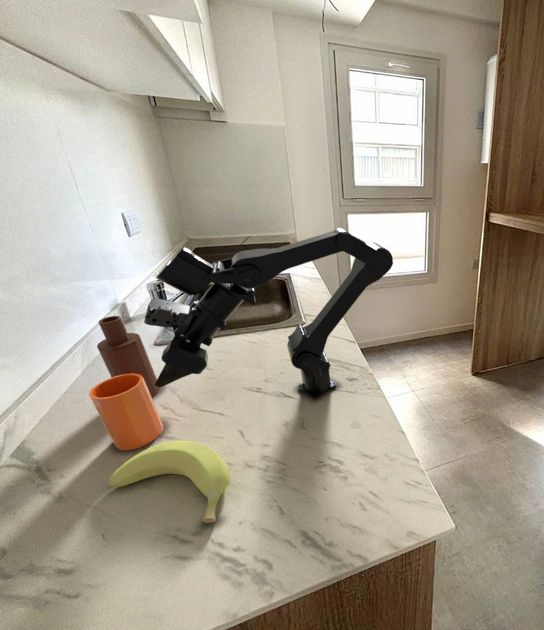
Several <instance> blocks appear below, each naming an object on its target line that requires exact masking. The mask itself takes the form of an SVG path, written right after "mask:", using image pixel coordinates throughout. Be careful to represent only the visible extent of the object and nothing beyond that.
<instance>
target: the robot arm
mask: <svg viewBox="0 0 544 630" xmlns="http://www.w3.org/2000/svg"><path fill="white" fill-rule="evenodd" d="M343 252H344V253H346V254H348V255H350V256H352V257H353V258H354V259H353V262H352V266H351V269H350V272H349V273H348V275H347V277H345V279H344V280H343V282H342V283H341V284H340V285H339V287H338V288H337V289H336V291H334V293H333V295H332V296H331V297H330V298H329V300H328V301H327V302H326V304H325V305H324V306H323V307H322V309H321V310H320V311H319V313H317V315H316V316H315V318H314V319H313V320H312V321H311V323H309V324H307V325H305V326H302V324H300V323H299V324H297V326H296V327H295V329H294V330H293V332H292V333H291V334H290V335H288V336H287V339H288V341H287V344H286V347H287V352H288V354H289V358H290V361H291V365H292V366H293V367H294V368H296V369H298V370H300V374H301V379H302V383H300V384H299V385H297V389H298V390H299V391H301V392H302V393H304V394H305V395H308V396H309V397H310V398H312V399H314V400H315V399H318V398H320V397H321V396H322V395H324V394H325V393H328V391H330V390H332V389H333V388H335V387H336V386H337V382H335V381H333V380H332V379H331V376H330V375H331V374H330V368H331V363H330V361H329V359H328V356H327V354H326V352H325V348H326V344H327V342H328V338H329V336H330V335H331V333H333V331H334V330H335V329H336V327H338V325H339V323H340V322H341V321H342V319H343V318H344V317H345V316H346V314H347V313H348V311H350V309H351V308H352V306H354V304H355V303H356V301H357V300H358V299H359V298H360V296H361V295H362V294H363V292H365V290H366V289H367V288H368V287H369V286H371V285H372V284H374V283H376V282H378V281H380V280H381V279H382V278H383V277H384V276H385V275H386V274H387V273H388V272H389V271H390V270H391V269H392V267H393V264H394V259H393V255H392V253H391V252H390V251H389V249H387V248H385V247H384V246H382V245H380V244H379V243H377V242H374V241H370V242H369V241H368V242H366V241H363V239H360V238H358V237H357V236H355V235H353V234H351V233H349V232H348V231H347V230H345V229H344V228H341V227H339V228H335V229H333V230H331V231H329V232H326V233H322V234H319V235H316V236H312V237H308V238H306V239H302V240H299V241H296V242H292V243H289V244H286V245H282V246H279V247H272V248H255V249H246V250H241V251H239V252H236V253H235V254H234V255H233V257H231V258H230V257H229V258H225V259H222V260H217V261H213V262H212V264H211V263H210V262H209V261H206V260H205V259H204V258H202V257H200V256H199V255H197V254H195V253H194V252H193V251H192V249H189V248H188V247H186V246H182V247H181V248H180V249H179V251H177V252H176V253H175V255H173V257H170V258H169V260H168V261H167V262H166V263H165V264H164V266H163V267H162V268H161V269H160V271H159V272H158V274H157V275H156V277H155V279H157V280H159V281H161V282H162V283H164V284H166V285H168V286H170V287H172V288H173V289H176V290H178V291H180V292H181V293H183V294H186V295H187V296H188V297H191V296H194V297H196V296H197V295H202V294H203V293H204V292H205V291H206V292H205V293H204V295H203V296H201V298H200V299H199V300H196V301H193V302H192V303H191V304H190V305H187V304H183V303H181V302H176V301H170V300H166V299H162V298H151V299H150V301H149V303H148V305H147V308H146V311H145V312H146V313H145V315H144V321H143V323H144V324H145V325H148V326H155V327H161V328H165V329H166V328H171V329H172V330H173V332H174V335H173V337H172V339H171V340H170V341H169V342H168V344H167V345H166V347H165V348H164V349H163V351H162V355H161V362H164V365H163V367H162V369H161V371H160V373H159V375H158V376H157V381H156V383H155V386H157V387H160V388H163V387H166V386H168V385H170V384H171V383H173V382H176V381H178V380H181V379H182V378H185V377H188V376H190V375H192V374H193V375H201V374H202V373H203V372H204V370H205V369H206V368H207V367H208V361H209V356H208V351H207V349H205V348H202V347H201V346H202V345H205V346H207V347H210V346H211V345H212V343H213V339H214V337H215V336H216V334H217V333H218V332H219V331H220V329H221V330H224V329H225V328H226V327H227V321H228V320H229V319H230V317H231V316H232V315H233V314H234V313H235V312H236V310H237V309H238V308H239V307H240V305H242V303H243V302H244V301H245V302H246V303H248V304H250V305H251V306H255V305H257V302H256V297H255V289H256V288H257V287H260V286H262V285H264V284H266V283H268V282H270V281H271V280H273V279H274V278H276V277H277V276H278V275H281V274H282V273H283V272H285V271H287V270H290V269H292V268H296V267H298V266H301V265H304V264H305V265H306V264H307V263H310V262H311V263H312V262H314V261H317V260H320V259H323V258H326V257H328V256H332V255H335V254H338V253H343ZM211 283H213V284H212V285H211ZM210 285H211V286H210ZM209 286H210V287H209ZM208 287H209V288H208ZM207 288H208V290H207Z"/></svg>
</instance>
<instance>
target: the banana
mask: <svg viewBox="0 0 544 630" xmlns="http://www.w3.org/2000/svg"><path fill="white" fill-rule="evenodd" d="M169 474H172V475H173V474H174V475H179V476H180V475H181V476H185V477H187V478H189V479H190V480H191V481H192V483H193V484H194V485H195V486H196V487H197V488H198V490H199V491H200V492H201V493H202V494H203V496H204V497H206V498H207V507H206V511H205V513H204V516H203V518H202V522H203V523H204V524H205V523H206V524H213V523H215V522H216V521H217V518H216V507H217V504H218V501H219V499H220V497H221V496H222V494H223V493H224V492H225V490H226V489H227V488H228V486H229V484H230V481H231V471H230V469H229V466H228V465H227V463H226V461H225V460H224V459H223V458H222V457H221V456H220V455H219V454H218V453H217V452H216V451H214V450H213V448H211V447H209V446H207V445H206V444H204V443H199V442H198V441H197V442H196V441H191V440H171V441H167V442H163V443H159V444H156V445H153V446H151V447H149V448H146V449H144V450H143V451H141V452H138V453H137V454H136V455H134V456H132V457H131V458H129V459H128V460H126V461H125V462H124V463H123V464H122V465H120V466H119V467H118V468H117V469H116V470H115V471H114V472H113V473H112V474H111V475H110V477H109V478H108V479H107V483H106V484H107V486H108V487H109V488H110V489H114V488H121V487H125V486H127V485H131V484H133V483H136V482H139V481H142V480H145V479H148V478H152V477H156V476H160V475H169Z"/></svg>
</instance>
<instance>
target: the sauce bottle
mask: <svg viewBox="0 0 544 630" xmlns="http://www.w3.org/2000/svg"><path fill="white" fill-rule="evenodd" d="M98 324H99V327H100V329H101V331H102V334H103V336H104V338H105V339H103V340H101V341H99V342H98V344H97V345H96V348H97V350H98V352H99V354H100V356H101V358H102V360H103V363H104V365H105V367H106V370H107V371H108V373H109V376H110V378H112V377H115V376H119V375H123V374H132V373H135V374H140V375H141V376H142V377H143V378H144V381H145V383H146V385H147V388H148V390H149V393H150V395H151V397H152V398H154V397H155V396H156V395H157V394H158V393H159V392H160V390H161V387H157V386H155V383H156V381H157V379H158V377H157V375H156V373H155V371H154V368H153V366H152V362H151V361H150V358H149V355H148V353H147V351H146V348H145V345H144V343H143V341H142V337H141V335H140V334H138V333H136V332H128V331H127V329H126V325H125V323H124V321H123V319H122V317H121V316H120V315H112V316H107V317H103V318H101V319H100V320H98Z"/></svg>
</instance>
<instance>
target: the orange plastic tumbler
mask: <svg viewBox="0 0 544 630" xmlns="http://www.w3.org/2000/svg"><path fill="white" fill-rule="evenodd" d="M88 397H89V399H90V400H91V402H92V403H91V404H93V407H94V409H95V410H96V412H97V414H98V416H99V418H100V420H101V421H102V424H103V426H104V428H105V429H106V432H107V433H108V435H109V437H110V439H111V441H112V443H113V444H114V446H115V447H116V448H115V449H117V450H120V451H132V450H135V449H139V448H142V447H144V446H146V445H148V444H150V443H152V442H153V441H154V440H156V439H157V438H158V437H159V436H160V435H161V434H162V433H163V430H164V425H163V421H162V419H161V416H160V415H159V412H158V409H157V408H156V405H155V403H154V399H153V397H151V395H150V393H149V390H148V388H147V385H146V383H145V381H144V378H143V377H142V376H141V375H140V374H135V373H132V374H123V375H119V376H115V377H112V378H111V377H109V378H107V379H105V380H103V381H100V382H98V384H95V386H93V387H92V388H91V389H90V390H89V393H88Z"/></svg>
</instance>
